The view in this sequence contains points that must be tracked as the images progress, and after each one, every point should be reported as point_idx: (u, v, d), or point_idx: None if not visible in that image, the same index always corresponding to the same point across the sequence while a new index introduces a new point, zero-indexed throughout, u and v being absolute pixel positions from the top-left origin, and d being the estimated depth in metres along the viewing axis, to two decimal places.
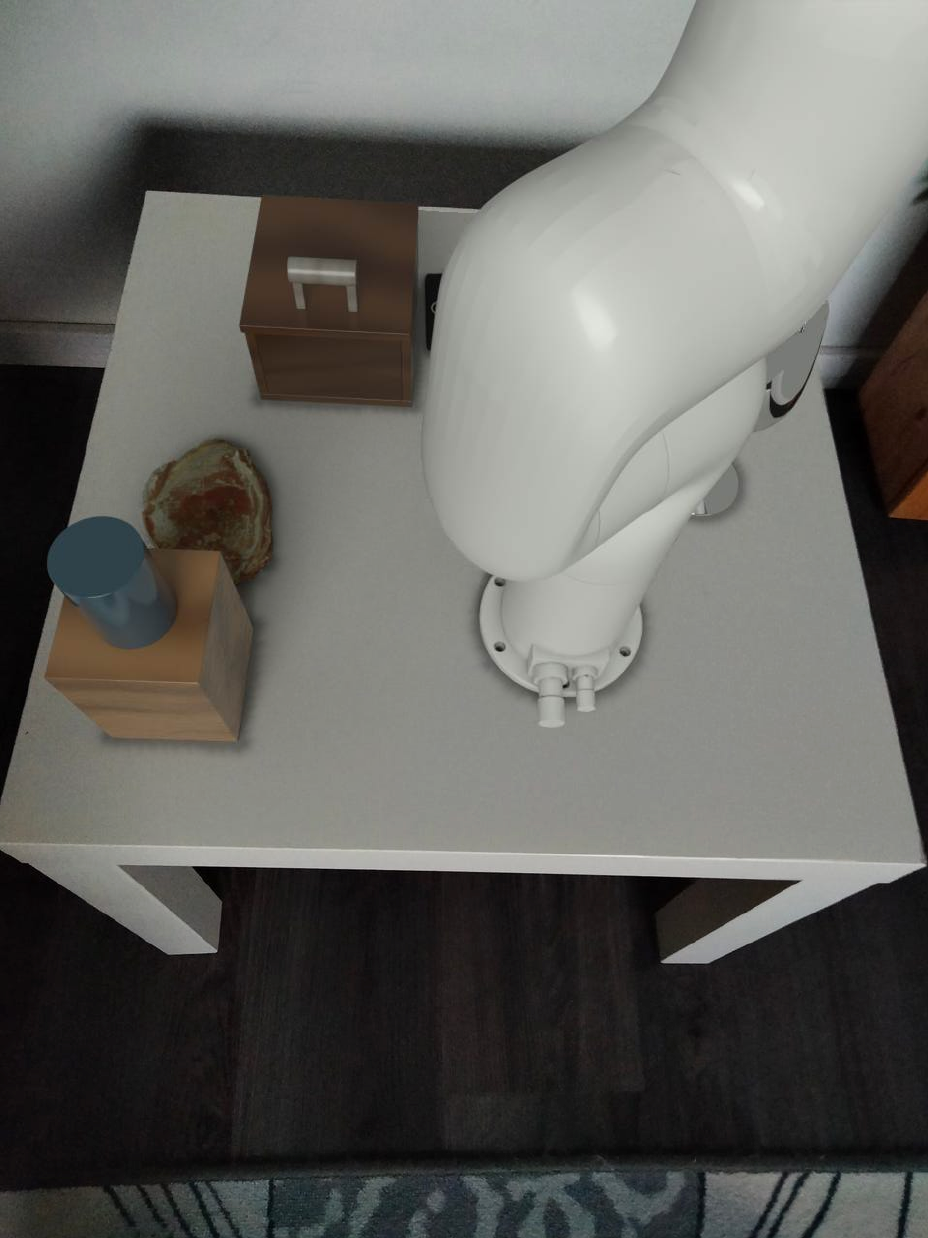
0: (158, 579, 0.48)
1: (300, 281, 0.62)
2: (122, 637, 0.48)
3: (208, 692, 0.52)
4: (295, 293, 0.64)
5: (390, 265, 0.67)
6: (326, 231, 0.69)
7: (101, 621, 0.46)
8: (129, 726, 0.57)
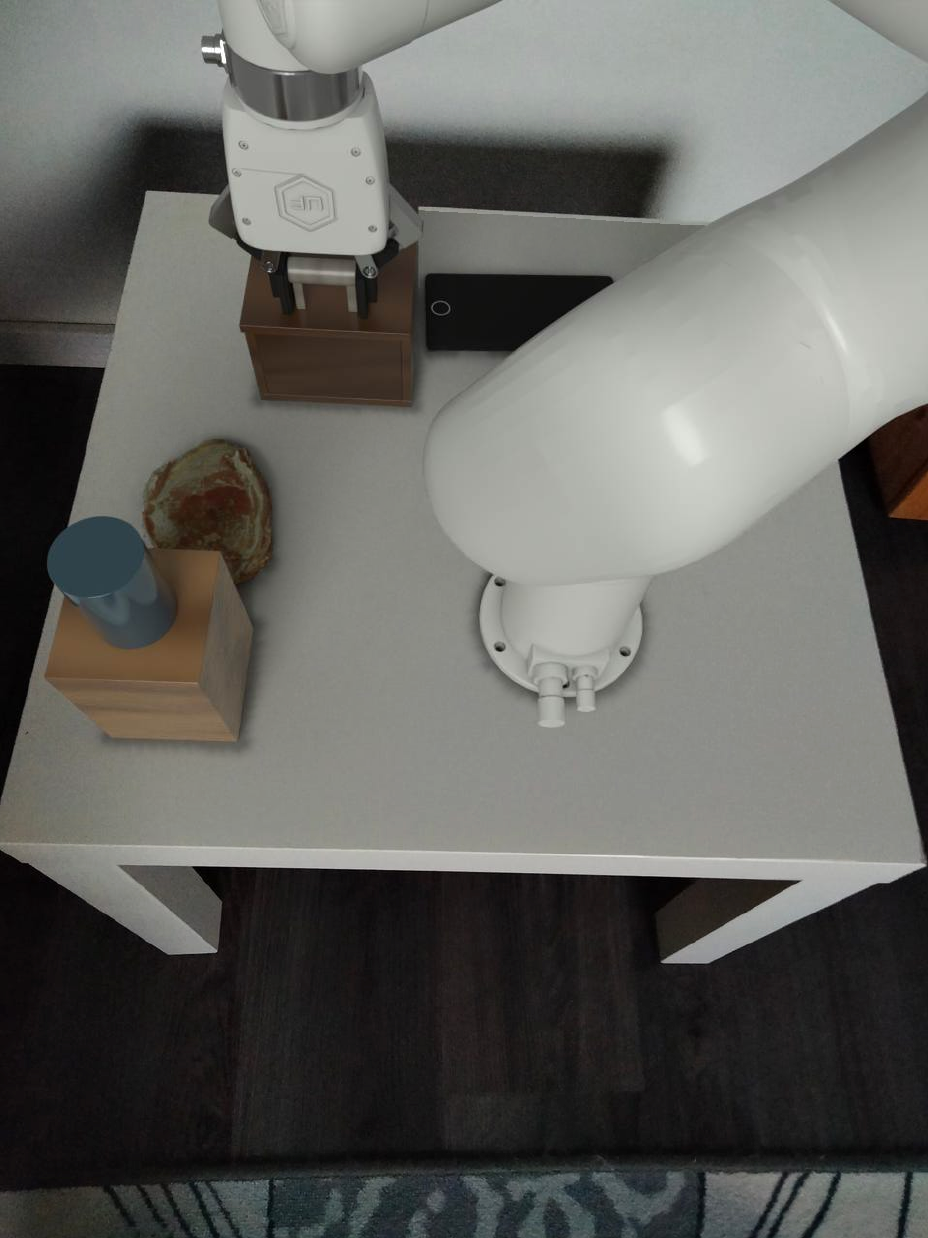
0: (158, 579, 0.48)
1: (300, 281, 0.62)
2: (122, 637, 0.48)
3: (208, 692, 0.52)
4: (295, 293, 0.64)
5: (390, 265, 0.67)
6: None
7: (101, 621, 0.46)
8: (129, 726, 0.57)
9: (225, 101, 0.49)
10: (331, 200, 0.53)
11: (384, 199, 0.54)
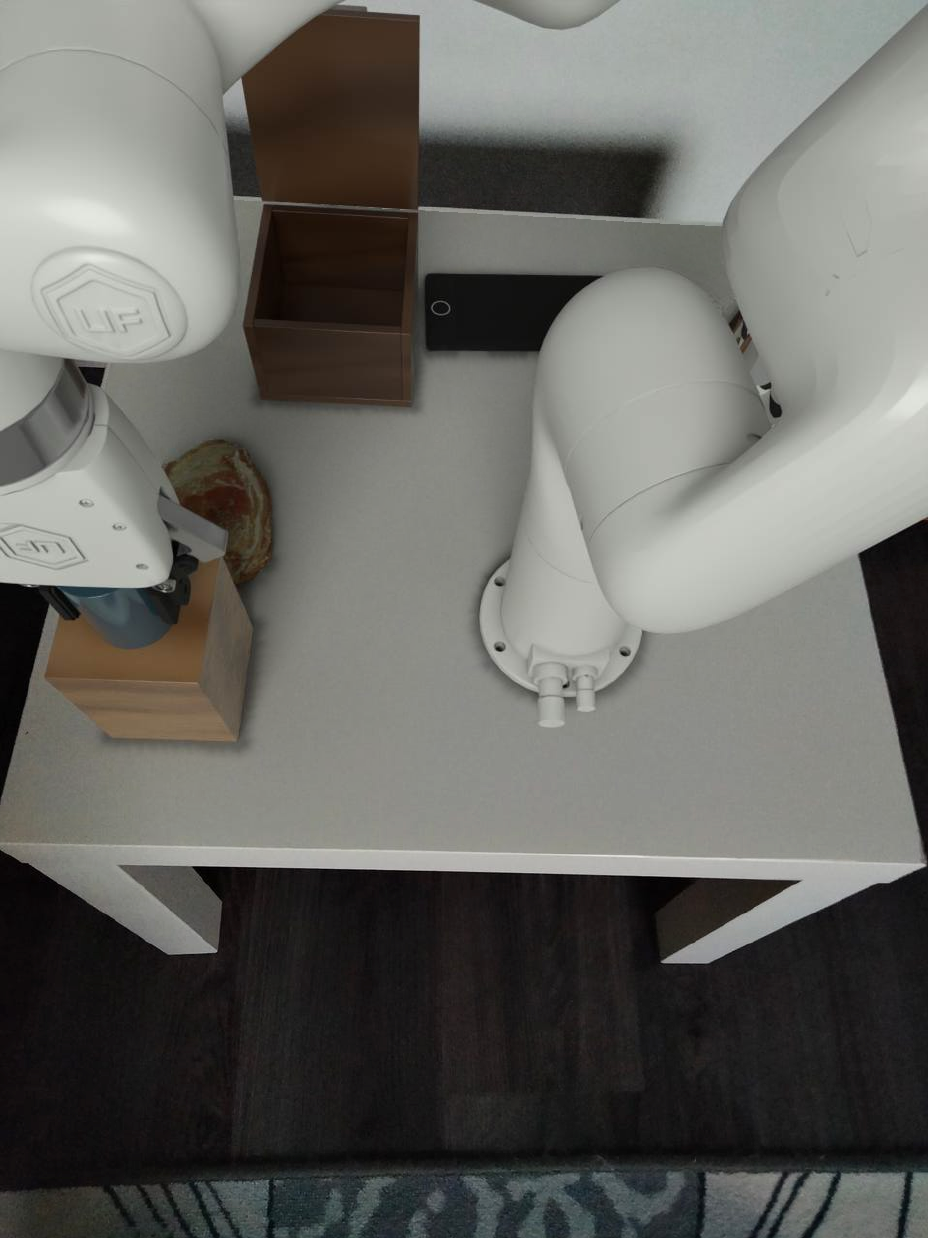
0: None
1: None
2: (122, 637, 0.48)
3: (208, 692, 0.52)
4: None
5: None
6: None
7: (101, 621, 0.46)
8: (129, 726, 0.57)
9: None
10: (72, 545, 0.38)
11: (150, 537, 0.39)
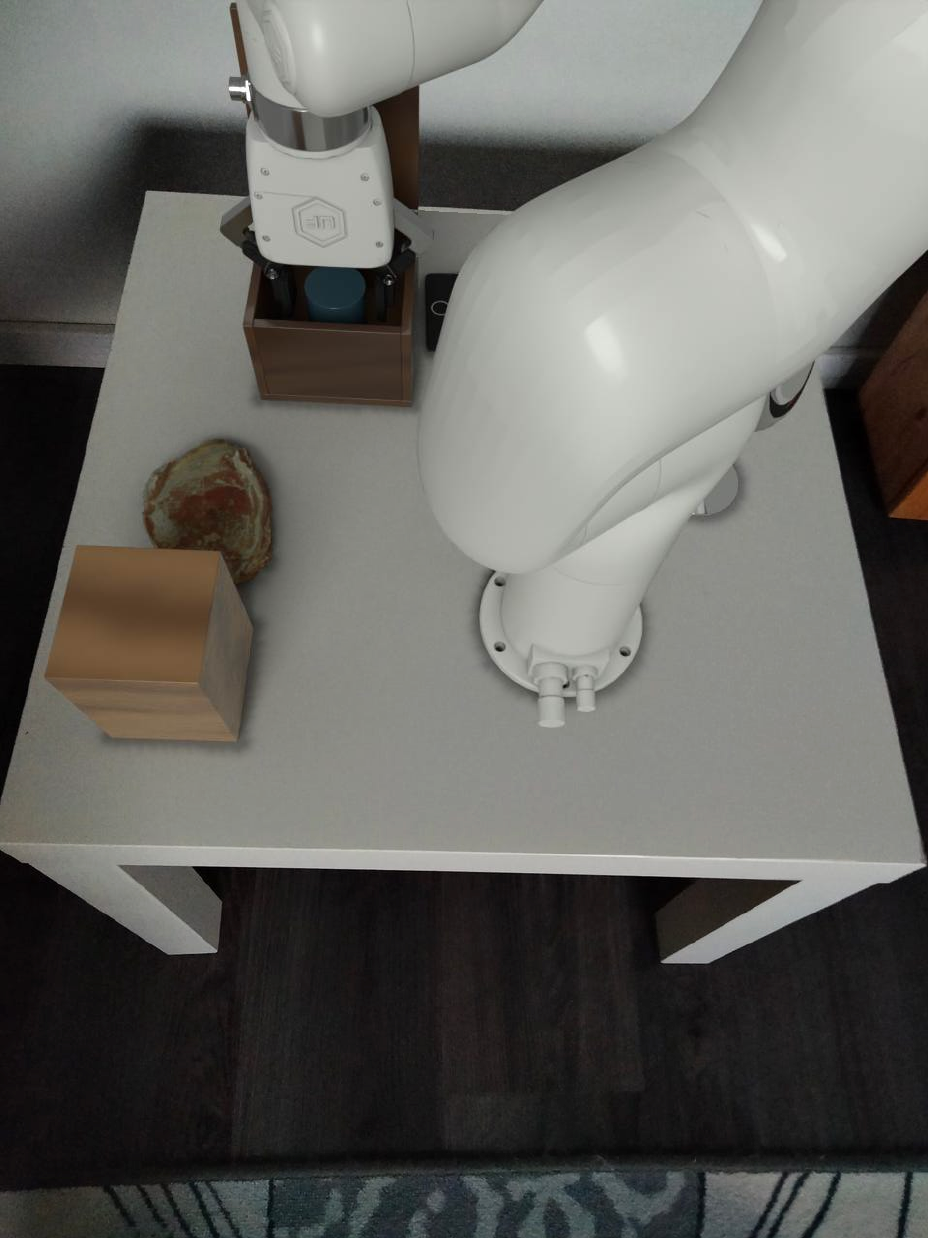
0: (367, 311, 0.71)
1: None
2: None
3: (208, 692, 0.52)
4: None
5: None
6: None
7: None
8: (129, 726, 0.57)
9: (249, 133, 0.55)
10: (342, 219, 0.60)
11: (390, 218, 0.60)
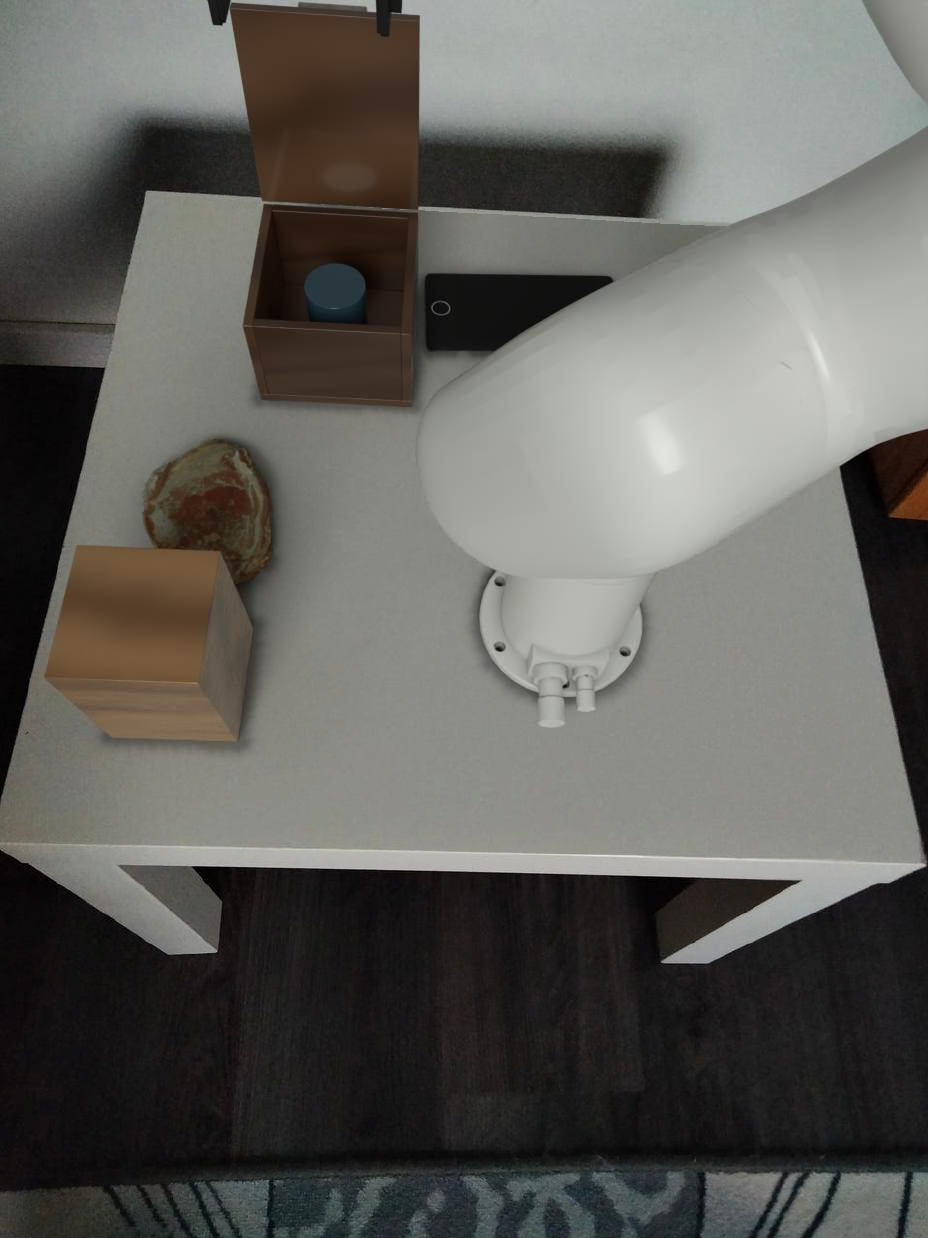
0: (367, 311, 0.71)
1: (309, 5, 0.61)
2: None
3: (208, 692, 0.52)
4: None
5: None
6: None
7: None
8: (129, 726, 0.57)
9: None
10: None
11: None
